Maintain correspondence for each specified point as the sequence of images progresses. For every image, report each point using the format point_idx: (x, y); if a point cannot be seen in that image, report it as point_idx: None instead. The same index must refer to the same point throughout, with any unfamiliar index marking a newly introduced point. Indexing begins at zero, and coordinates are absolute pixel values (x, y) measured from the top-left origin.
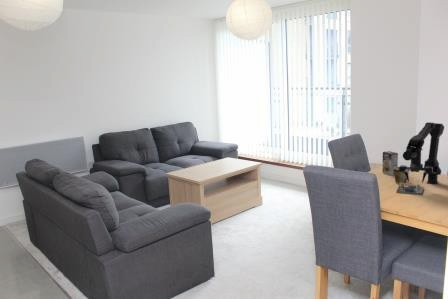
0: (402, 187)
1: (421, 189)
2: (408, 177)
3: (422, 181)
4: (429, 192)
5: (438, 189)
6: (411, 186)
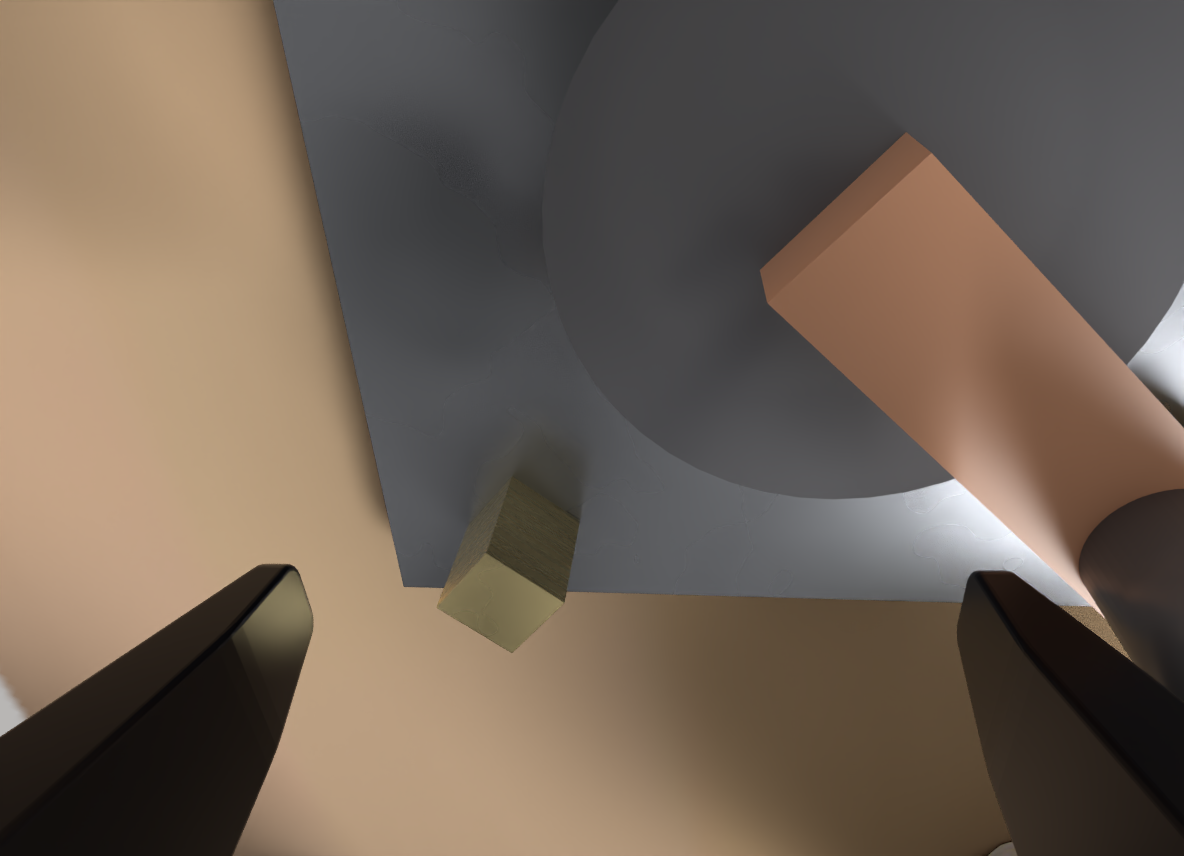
0: (1161, 353)
1: (382, 294)
2: (1102, 828)
3: (239, 600)
4: (104, 182)
5: (56, 591)
6: (784, 170)
